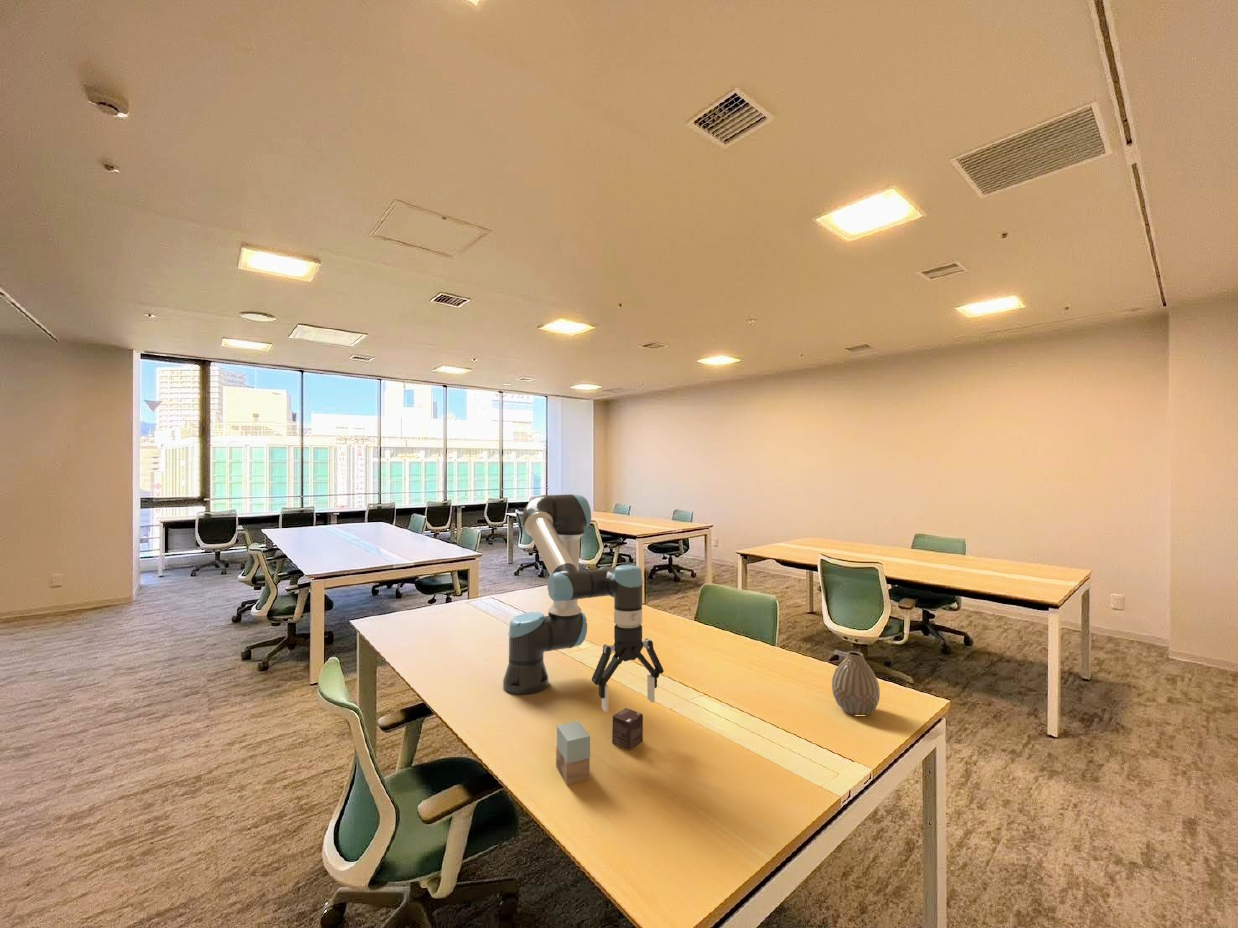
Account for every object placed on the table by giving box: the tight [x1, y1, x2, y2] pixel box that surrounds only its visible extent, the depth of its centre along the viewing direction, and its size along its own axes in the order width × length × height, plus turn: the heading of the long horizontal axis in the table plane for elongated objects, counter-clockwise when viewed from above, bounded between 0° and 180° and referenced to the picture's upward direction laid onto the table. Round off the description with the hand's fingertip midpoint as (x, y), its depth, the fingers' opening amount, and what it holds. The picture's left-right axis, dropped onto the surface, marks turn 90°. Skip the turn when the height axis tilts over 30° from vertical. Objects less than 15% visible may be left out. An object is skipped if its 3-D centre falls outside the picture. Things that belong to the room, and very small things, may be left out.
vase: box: [831, 650, 881, 716], centre depth 150 cm, size 13×13×18 cm
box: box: [611, 707, 644, 751], centre depth 132 cm, size 6×6×7 cm
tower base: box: [555, 745, 591, 786], centre depth 118 cm, size 8×6×5 cm
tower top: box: [556, 720, 591, 763], centre depth 118 cm, size 8×6×5 cm
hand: (628, 705), depth 132 cm, fingers open, 13 cm apart
